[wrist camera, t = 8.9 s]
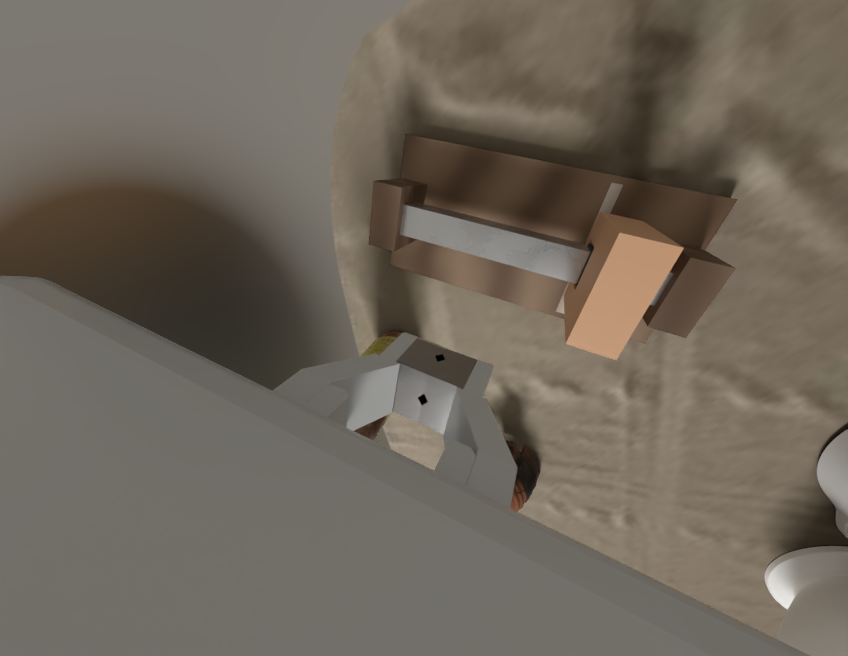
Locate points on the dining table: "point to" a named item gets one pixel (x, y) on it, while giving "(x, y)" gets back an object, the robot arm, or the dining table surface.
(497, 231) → the rod stand
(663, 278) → the collar
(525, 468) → the broken clay pot
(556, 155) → the dining table surface
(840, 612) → the decorative vase
